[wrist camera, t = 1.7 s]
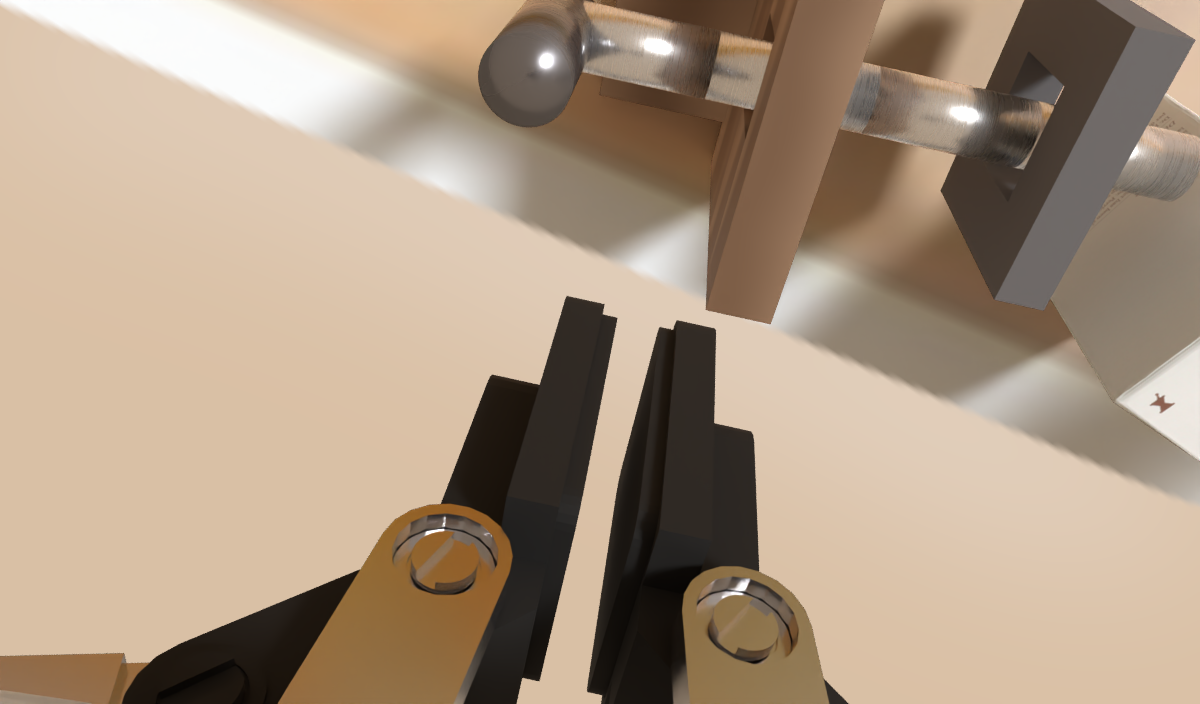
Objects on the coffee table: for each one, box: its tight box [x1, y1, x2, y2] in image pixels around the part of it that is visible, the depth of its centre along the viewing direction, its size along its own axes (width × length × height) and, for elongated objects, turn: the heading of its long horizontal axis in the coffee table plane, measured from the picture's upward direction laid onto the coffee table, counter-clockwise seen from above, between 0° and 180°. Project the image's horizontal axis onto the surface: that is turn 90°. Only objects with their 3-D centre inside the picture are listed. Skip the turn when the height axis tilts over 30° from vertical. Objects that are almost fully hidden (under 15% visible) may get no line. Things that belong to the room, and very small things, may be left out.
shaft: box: [478, 0, 1200, 202], centre depth 25 cm, size 20×2×6 cm, turn 79°
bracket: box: [600, 0, 884, 324], centre depth 28 cm, size 7×12×12 cm, turn 169°
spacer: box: [941, 0, 1195, 311], centre depth 27 cm, size 2×8×8 cm, turn 170°
